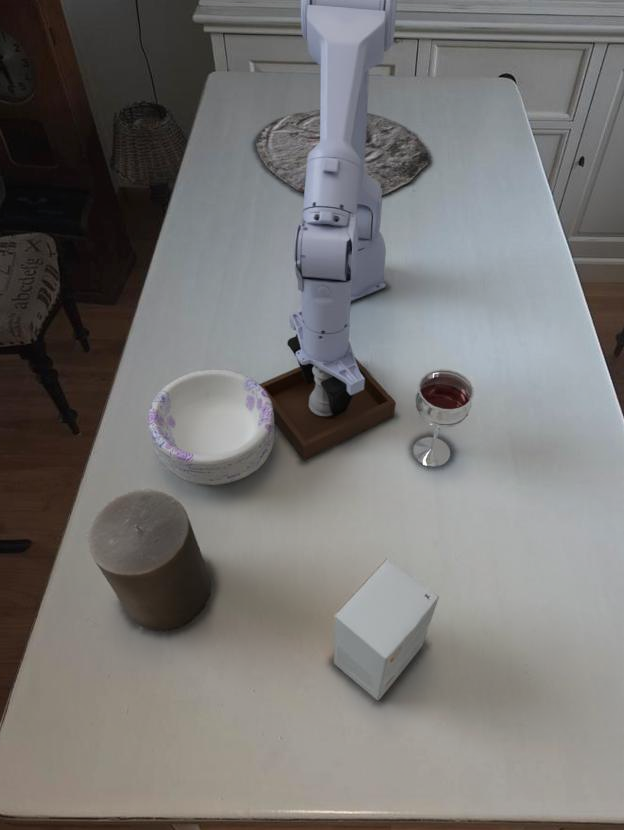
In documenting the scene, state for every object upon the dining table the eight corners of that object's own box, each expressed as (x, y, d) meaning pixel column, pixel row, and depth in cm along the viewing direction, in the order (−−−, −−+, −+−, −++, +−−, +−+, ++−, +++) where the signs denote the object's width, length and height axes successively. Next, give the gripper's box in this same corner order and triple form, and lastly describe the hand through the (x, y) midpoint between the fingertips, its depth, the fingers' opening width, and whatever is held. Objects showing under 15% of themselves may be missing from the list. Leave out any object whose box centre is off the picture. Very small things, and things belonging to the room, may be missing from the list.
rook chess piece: (337, 421, 86) (338, 380, 79) (305, 415, 86) (303, 374, 80) (343, 397, 89) (345, 355, 82) (312, 392, 89) (311, 350, 82)
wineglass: (397, 440, 85) (407, 377, 75) (442, 426, 87) (457, 363, 77) (420, 478, 82) (434, 417, 72) (466, 462, 83) (485, 401, 73)
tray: (344, 361, 93) (345, 346, 91) (394, 416, 88) (396, 402, 85) (258, 400, 88) (256, 385, 86) (304, 460, 83) (303, 446, 80)
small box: (378, 610, 71) (387, 555, 60) (423, 645, 69) (441, 595, 58) (331, 663, 67) (332, 615, 57) (377, 703, 65) (388, 660, 54)
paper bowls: (300, 453, 83) (298, 413, 77) (208, 520, 77) (197, 483, 70) (228, 391, 89) (221, 349, 83) (137, 448, 83) (121, 408, 76)
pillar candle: (217, 618, 70) (195, 554, 57) (127, 642, 68) (84, 580, 56) (203, 544, 75) (180, 471, 63) (120, 564, 73) (78, 492, 61)
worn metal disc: (320, 95, 141) (320, 93, 140) (455, 146, 130) (455, 144, 129) (219, 156, 125) (218, 154, 124) (363, 220, 114) (363, 218, 114)
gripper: (266, 295, 77) (274, 374, 88) (330, 367, 70) (329, 443, 81) (315, 276, 79) (316, 355, 90) (381, 344, 72) (374, 421, 84)
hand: (325, 395), depth 86 cm, fingers open, 6 cm apart
